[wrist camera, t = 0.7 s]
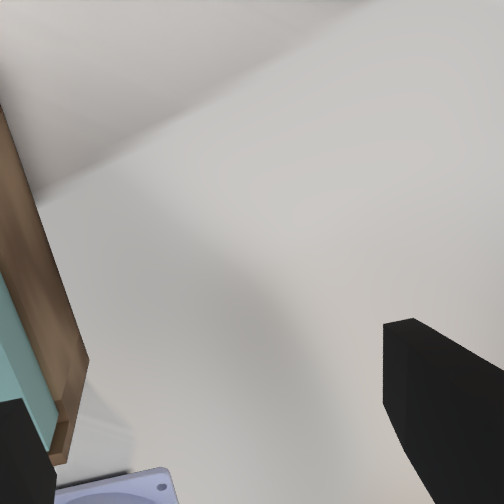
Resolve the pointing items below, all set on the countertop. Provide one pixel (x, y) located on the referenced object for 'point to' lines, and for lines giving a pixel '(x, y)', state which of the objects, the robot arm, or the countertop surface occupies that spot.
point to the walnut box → (39, 296)
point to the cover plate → (23, 371)
